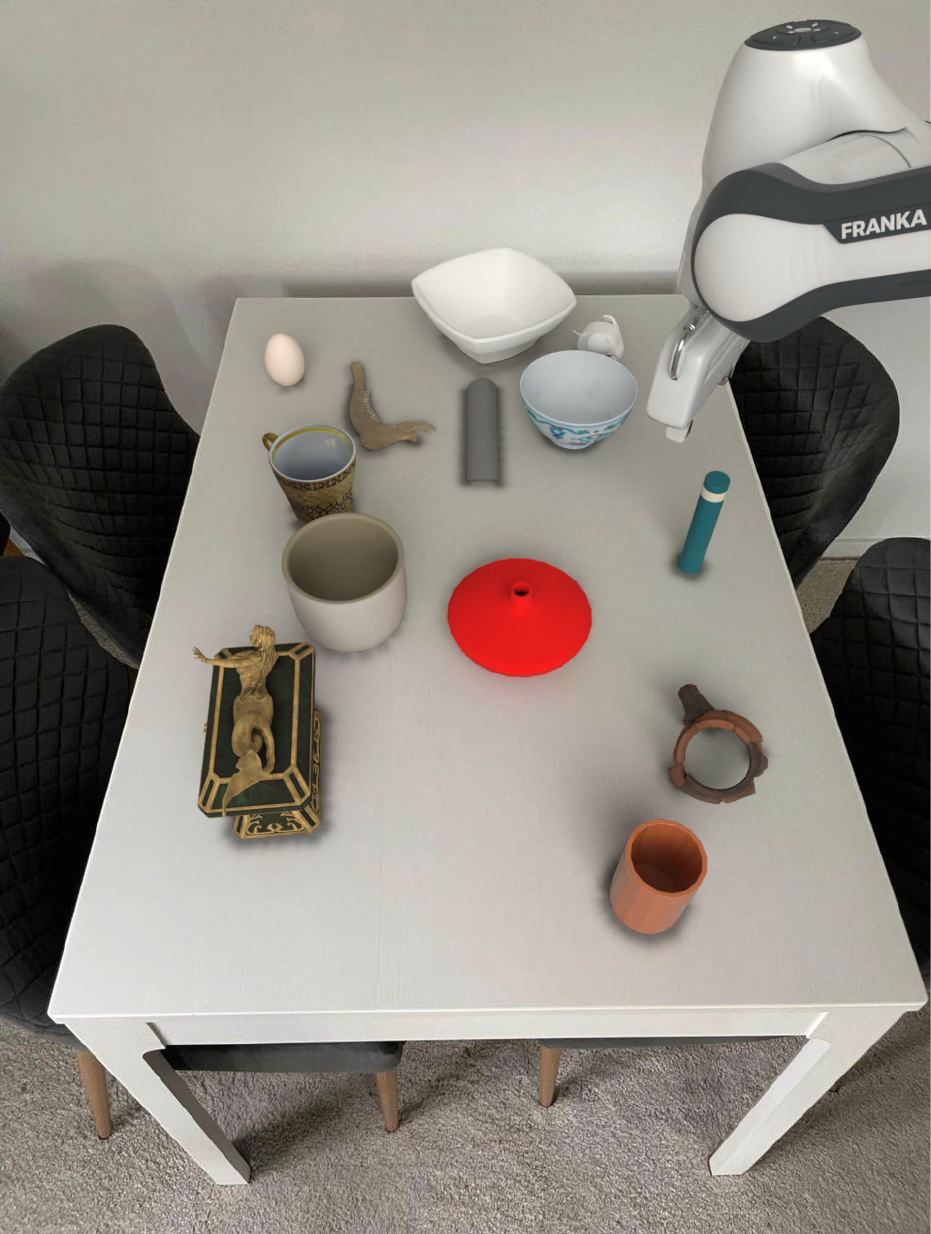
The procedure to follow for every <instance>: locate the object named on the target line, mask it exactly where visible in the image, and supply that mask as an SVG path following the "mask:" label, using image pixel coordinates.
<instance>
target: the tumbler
mask: <svg viewBox="0 0 931 1234" xmlns="http://www.w3.org/2000/svg"><path fill="white" fill-rule="evenodd" d="M707 873H708V856H707V853H706V850H705V847H704V845H703V843H702V841H701V840H700V838H699V837H697V835H696V834H695V833H694V831H692V829H691V828H688V827H687V826H685V825H683V824H682V823H680V822H678V821H676V820H670V819H664V818H658V819H652V820H647V821H644V822H643V823H642V824H640V825H639V826H637V827H636V828H635V829H634V830H633V831H632V833H631V834H630V836H629V838H628V840H627V842H626V844H625V847H624V849H623V851H622V853H621V856H620V859H619V861H618V863H617V866H616V868H615V871H614V873H613V876H612V879H611V881H610V886H609V901H610V905H611V908H612V910H613V912H614V914H615V915H616V917H617V918H618V919H619V921H620V922H621V923H622V924H624V926H626V927H627V928H629V929H630V930H632V931H633V932H637V933H641V934H645V935H655V934H659V933H663V932H665V931H667V930H668V929H670V928H672V926H674V924H675V923H677V921H678V920H679V918H680V917H681V915H682V914H683V913H684V912H685V909H686V908H687V906H689V903H690V902H691V901H692V899H693V898H694V896H695V895H696V893H697V892H698V890H699V889H700V888H701V886H702V884H703V881H704V879H705V877H706V876H707Z"/></svg>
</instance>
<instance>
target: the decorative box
mask: <svg viewBox="0 0 931 1234" xmlns="http://www.w3.org/2000/svg"><path fill="white" fill-rule="evenodd" d="M248 638H249V640H248V642H249V643H250V644H251V645H244V646H232V647H223V648H221V649H220V650H219V651H218V652H217V653H215V654H214V656H213V658H207V657H206V656H205V655H204V654H203V653H202V651H201V650H200V649H199V648H198V647H195V646H194V647H193V649H192V651H193V655H194V656H195V657H193V659H194V660H200V662H201V663H204V664H207V665H212V673H211V680H210V681H211V682H210V690H209V691H210V692H209V700H208V707H207V718H206V722H204V729H203V733H205V734H204V742H203V743H204V744H203V751H202V753H203V754H202V762H201V771H200V779H199V789H198V796H197V808H198V809H199V811H200V812H201V813H202V814H203V815H205V816H206V818H208V819H217V818H218V819H219V818H223V819H225V818H230V817H231V818H232V817H233V826H232V827H233V828H232V830H233V832H234V833H235V834H236V835H237V836H238V837H239V838H240V839H242V840H249V839H260V838H270V837H271V838H272V837H283V836H294V835H304V834H305V835H306V834H307V835H308V834H312V833H314V832H315V830H317V828H318V827H319V826H320V825H321V822H322V821H321V819H322V770H323V769H322V767H323V766H322V765H323V763H322V762H323V714H322V713H321V712H320V711H319V710H318V709H316V707H315V704H316V703H315V702H316V701H315V700H316V667H317V665H316V662H317V661H316V660H317V653H316V649H315V647H314V646H313V645H311V644H310V643H309V642H307V641H298V642H296V641H295V642H285V643H277V641H276V640H277V639H276V633H275V631H274V630H273V629H272V628H271V627H270V626H264V625H261V624H258V623H257V624H254V627H253V628H252V631H251V634H250V635H249V636H248ZM192 651H191V652H192Z"/></svg>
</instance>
